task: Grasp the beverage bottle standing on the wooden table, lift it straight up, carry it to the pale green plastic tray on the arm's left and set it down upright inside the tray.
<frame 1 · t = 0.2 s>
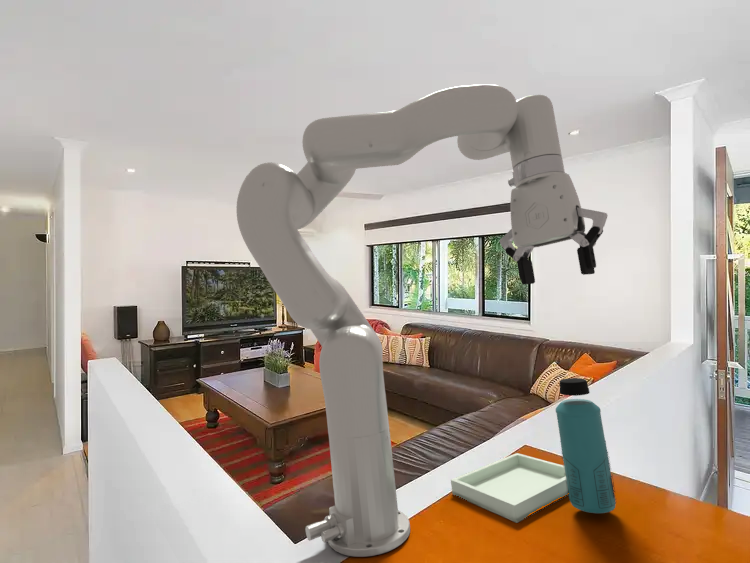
hand: (556, 279, 64), 36 cm above the table, tool pointing down, fingers open, 9 cm apart
beverage bottle: (593, 515, 61), on the table
tray: (517, 490, 71), on the table
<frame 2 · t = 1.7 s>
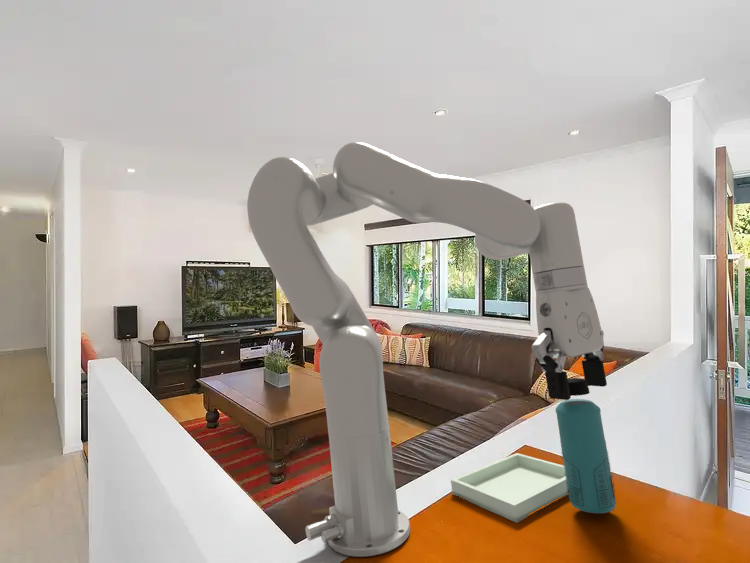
hand: (578, 391, 62), 18 cm above the table, tool pointing down, fingers open, 9 cm apart
nothing on the table moved.
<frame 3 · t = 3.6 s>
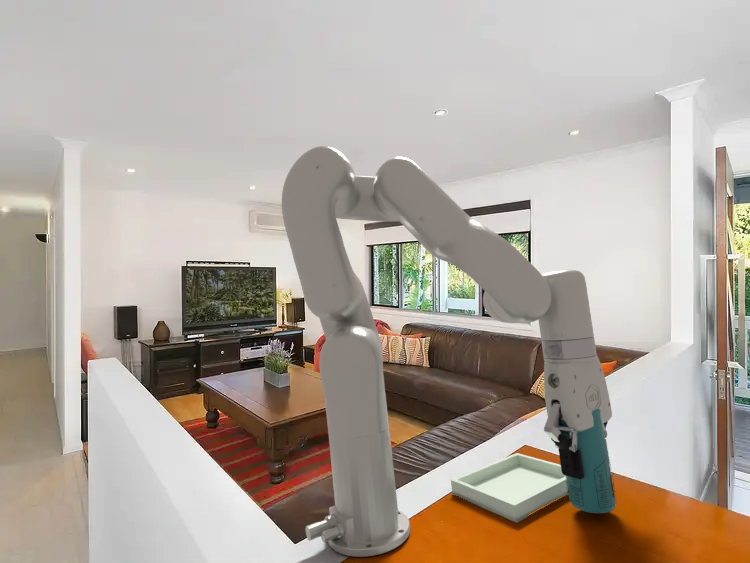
hand: (586, 468, 61), 7 cm above the table, tool pointing down, fingers closed on beverage bottle, 6 cm apart
beverage bottle: (593, 515, 61), on the table, touching gripper
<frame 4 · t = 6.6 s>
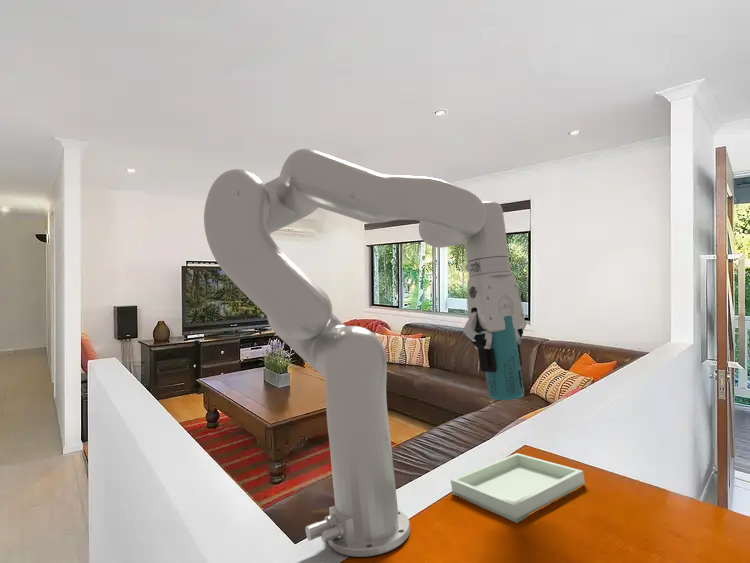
hand: (501, 367, 73), 21 cm above the table, tool pointing down, fingers closed on beverage bottle, 6 cm apart
beverage bottle: (507, 405, 72), point 15 cm above the table, touching gripper
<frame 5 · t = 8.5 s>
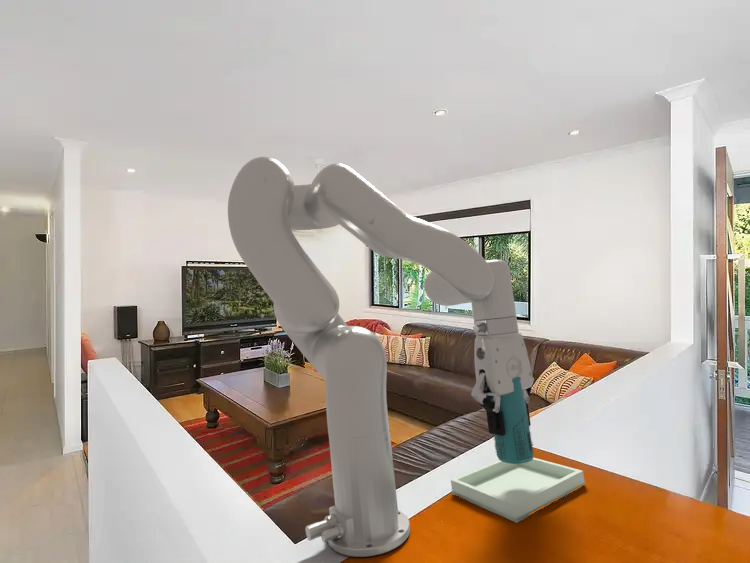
hand: (510, 428, 72), 11 cm above the table, tool pointing down, fingers closed on beverage bottle, 6 cm apart
beverage bottle: (516, 467, 72), point 4 cm above the table, touching gripper
when the fingers open (9 cm above the table, at t = 9.8 s): beverage bottle drops 2 cm, resting on tray.
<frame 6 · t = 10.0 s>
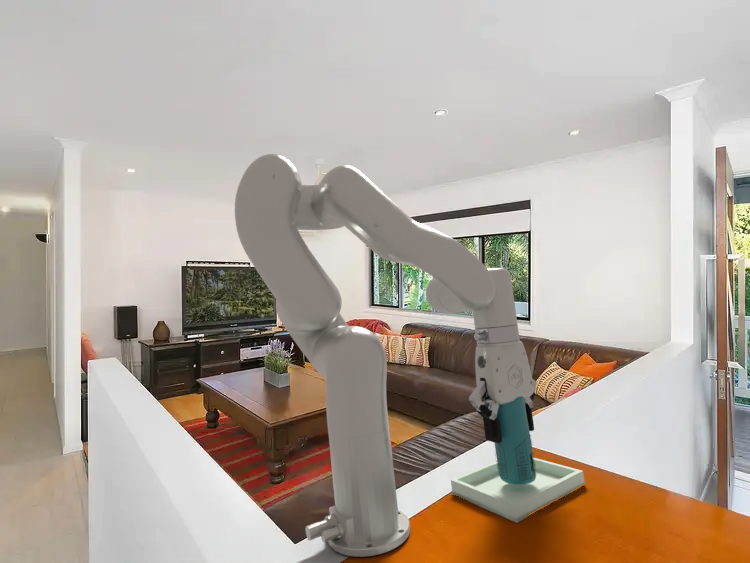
hand: (510, 434, 72), 9 cm above the table, tool pointing down, fingers open, 8 cm apart
beverage bottle: (518, 487, 71), resting on tray
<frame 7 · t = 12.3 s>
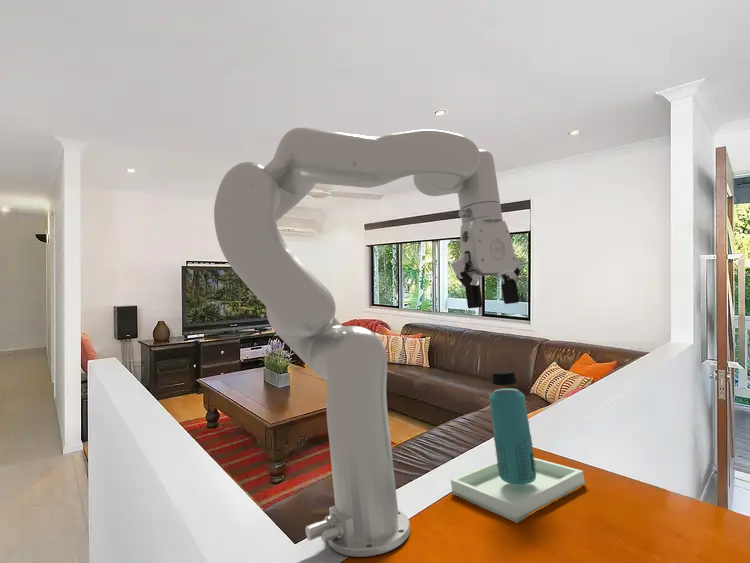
hand: (494, 305, 76), 33 cm above the table, tool pointing down, fingers open, 9 cm apart
nothing on the table moved.
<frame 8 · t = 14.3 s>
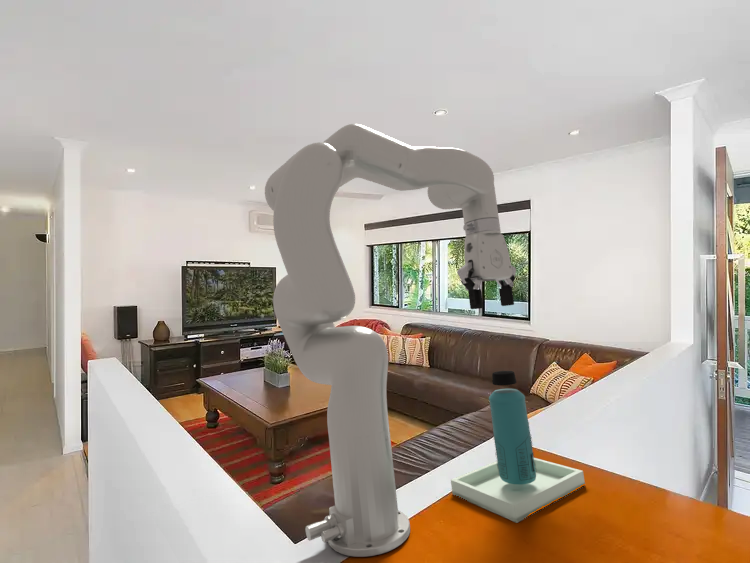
hand: (492, 307, 88), 32 cm above the table, tool pointing down, fingers open, 9 cm apart
nothing on the table moved.
at the end: beverage bottle inside the target area on the tray (0.2 cm from its centre), point 0.4 cm above the tray's base; beverage bottle tilted 0°; the gripper is holding nothing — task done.
